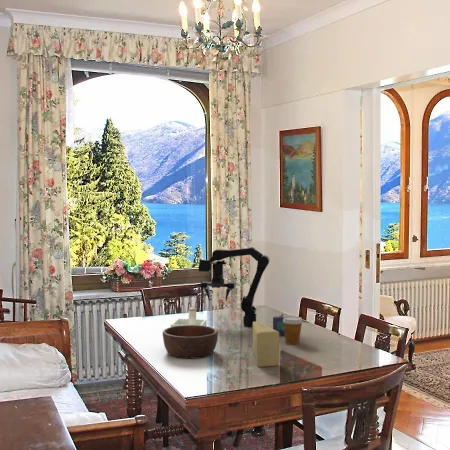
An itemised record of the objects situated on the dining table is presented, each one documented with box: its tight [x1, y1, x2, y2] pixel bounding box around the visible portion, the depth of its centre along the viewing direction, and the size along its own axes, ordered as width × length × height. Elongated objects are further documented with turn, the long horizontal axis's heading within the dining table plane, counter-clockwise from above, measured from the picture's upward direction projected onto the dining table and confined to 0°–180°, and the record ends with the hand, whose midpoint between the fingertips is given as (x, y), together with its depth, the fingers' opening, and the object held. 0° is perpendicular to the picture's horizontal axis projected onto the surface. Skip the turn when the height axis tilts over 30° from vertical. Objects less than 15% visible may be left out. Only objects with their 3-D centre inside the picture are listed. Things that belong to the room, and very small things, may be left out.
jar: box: [188, 307, 197, 325], centre depth 332 cm, size 4×4×10 cm
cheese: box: [252, 321, 280, 368], centre depth 273 cm, size 22×10×15 cm, turn 13°
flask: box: [272, 313, 285, 336], centre depth 321 cm, size 9×3×11 cm, turn 87°
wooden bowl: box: [162, 325, 219, 359], centre depth 284 cm, size 25×25×10 cm
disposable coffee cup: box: [283, 315, 304, 345], centre depth 303 cm, size 10×10×12 cm
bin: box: [170, 318, 208, 327], centre depth 331 cm, size 16×16×4 cm
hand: (217, 300), depth 343 cm, fingers open, 9 cm apart
